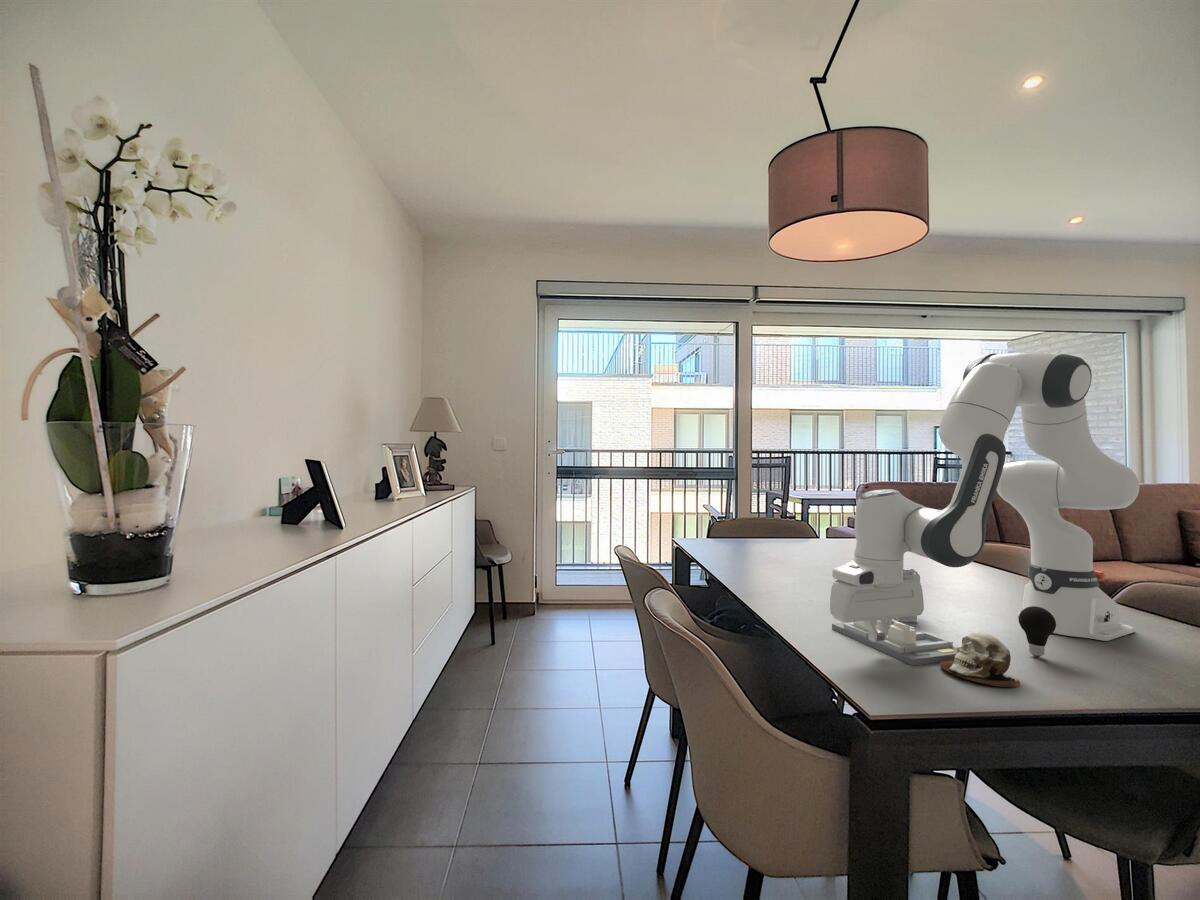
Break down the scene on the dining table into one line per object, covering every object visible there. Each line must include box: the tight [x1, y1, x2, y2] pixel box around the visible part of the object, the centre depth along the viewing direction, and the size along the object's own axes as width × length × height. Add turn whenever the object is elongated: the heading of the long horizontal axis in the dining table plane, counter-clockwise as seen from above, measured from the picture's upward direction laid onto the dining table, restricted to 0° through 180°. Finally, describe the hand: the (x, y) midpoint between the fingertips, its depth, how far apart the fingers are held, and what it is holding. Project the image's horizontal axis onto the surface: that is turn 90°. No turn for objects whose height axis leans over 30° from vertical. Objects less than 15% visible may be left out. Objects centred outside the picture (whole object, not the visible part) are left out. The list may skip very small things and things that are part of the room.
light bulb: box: [1017, 606, 1056, 658], centre depth 109 cm, size 6×6×10 cm
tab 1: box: [853, 620, 879, 632], centre depth 120 cm, size 3×4×4 cm
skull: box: [939, 631, 1021, 688], centre depth 100 cm, size 12×10×10 cm
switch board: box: [831, 618, 958, 667], centre depth 117 cm, size 22×14×2 cm, turn 17°
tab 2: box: [888, 620, 917, 646], centre depth 111 cm, size 3×4×4 cm
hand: (877, 640), depth 110 cm, fingers closed
